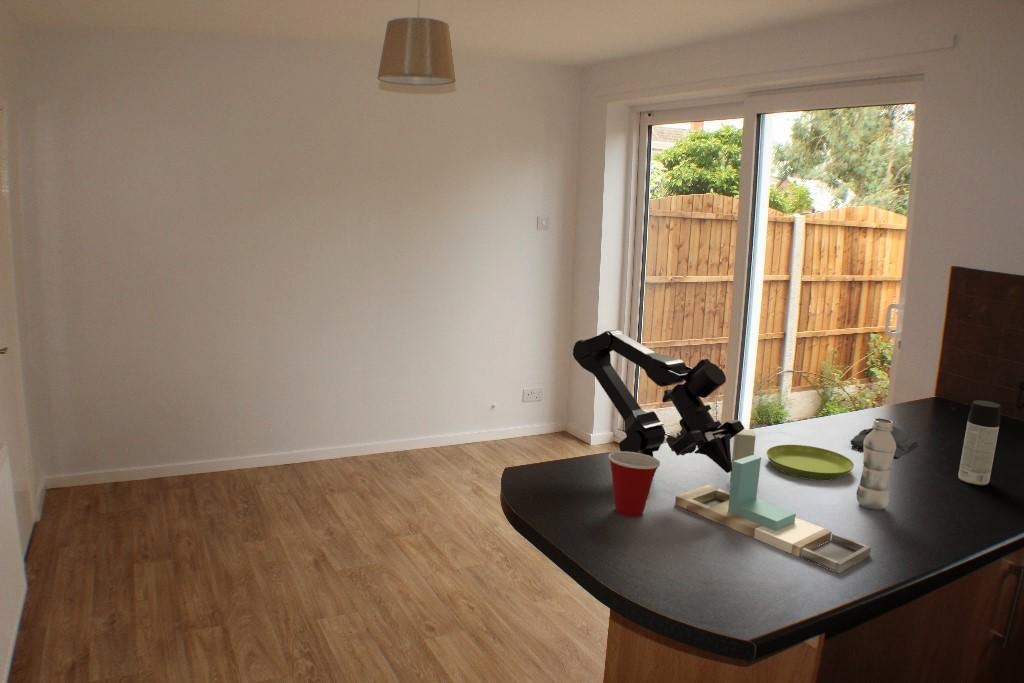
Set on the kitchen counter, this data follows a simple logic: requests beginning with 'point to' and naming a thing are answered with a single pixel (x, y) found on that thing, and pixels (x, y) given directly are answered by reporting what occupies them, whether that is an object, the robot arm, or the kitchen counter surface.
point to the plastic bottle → (877, 466)
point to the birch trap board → (715, 507)
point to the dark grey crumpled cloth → (902, 440)
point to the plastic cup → (631, 480)
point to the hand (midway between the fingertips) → (729, 471)
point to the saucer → (809, 462)
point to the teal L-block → (754, 497)
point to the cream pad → (786, 534)
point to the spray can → (980, 442)
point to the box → (743, 445)
